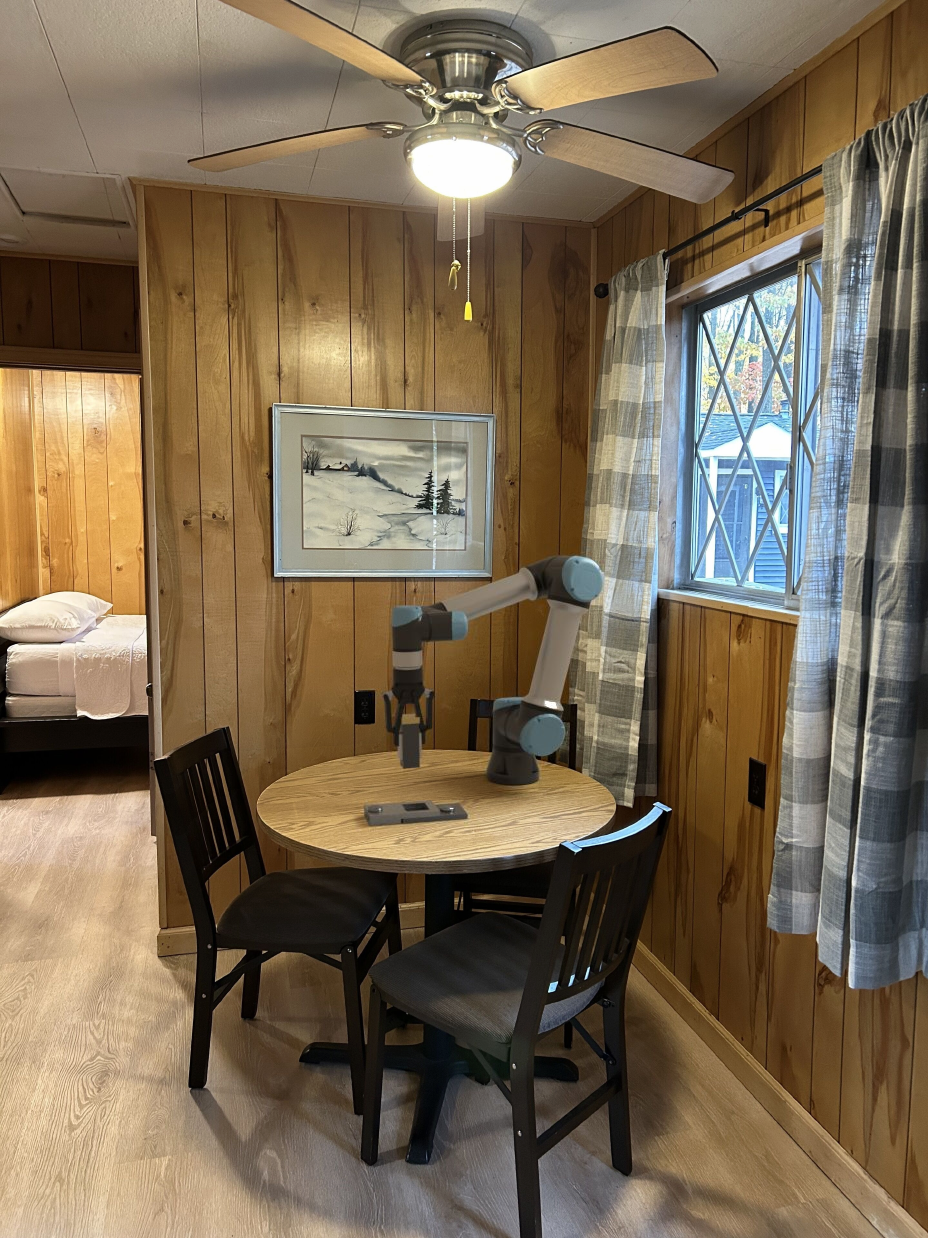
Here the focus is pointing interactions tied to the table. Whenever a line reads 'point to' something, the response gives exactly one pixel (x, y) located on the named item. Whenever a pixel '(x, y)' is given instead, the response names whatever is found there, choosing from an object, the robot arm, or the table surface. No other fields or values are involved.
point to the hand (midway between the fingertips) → (409, 757)
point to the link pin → (410, 741)
